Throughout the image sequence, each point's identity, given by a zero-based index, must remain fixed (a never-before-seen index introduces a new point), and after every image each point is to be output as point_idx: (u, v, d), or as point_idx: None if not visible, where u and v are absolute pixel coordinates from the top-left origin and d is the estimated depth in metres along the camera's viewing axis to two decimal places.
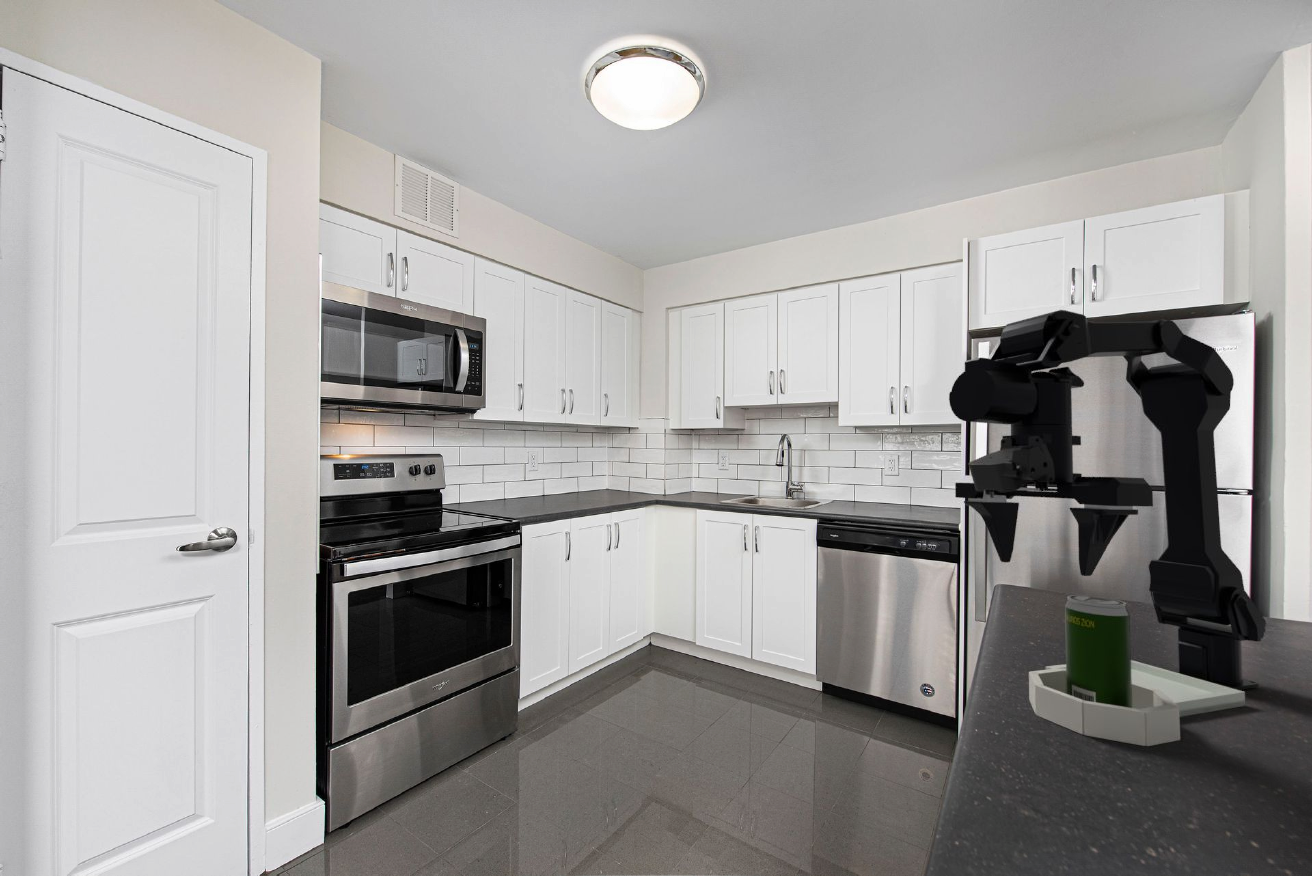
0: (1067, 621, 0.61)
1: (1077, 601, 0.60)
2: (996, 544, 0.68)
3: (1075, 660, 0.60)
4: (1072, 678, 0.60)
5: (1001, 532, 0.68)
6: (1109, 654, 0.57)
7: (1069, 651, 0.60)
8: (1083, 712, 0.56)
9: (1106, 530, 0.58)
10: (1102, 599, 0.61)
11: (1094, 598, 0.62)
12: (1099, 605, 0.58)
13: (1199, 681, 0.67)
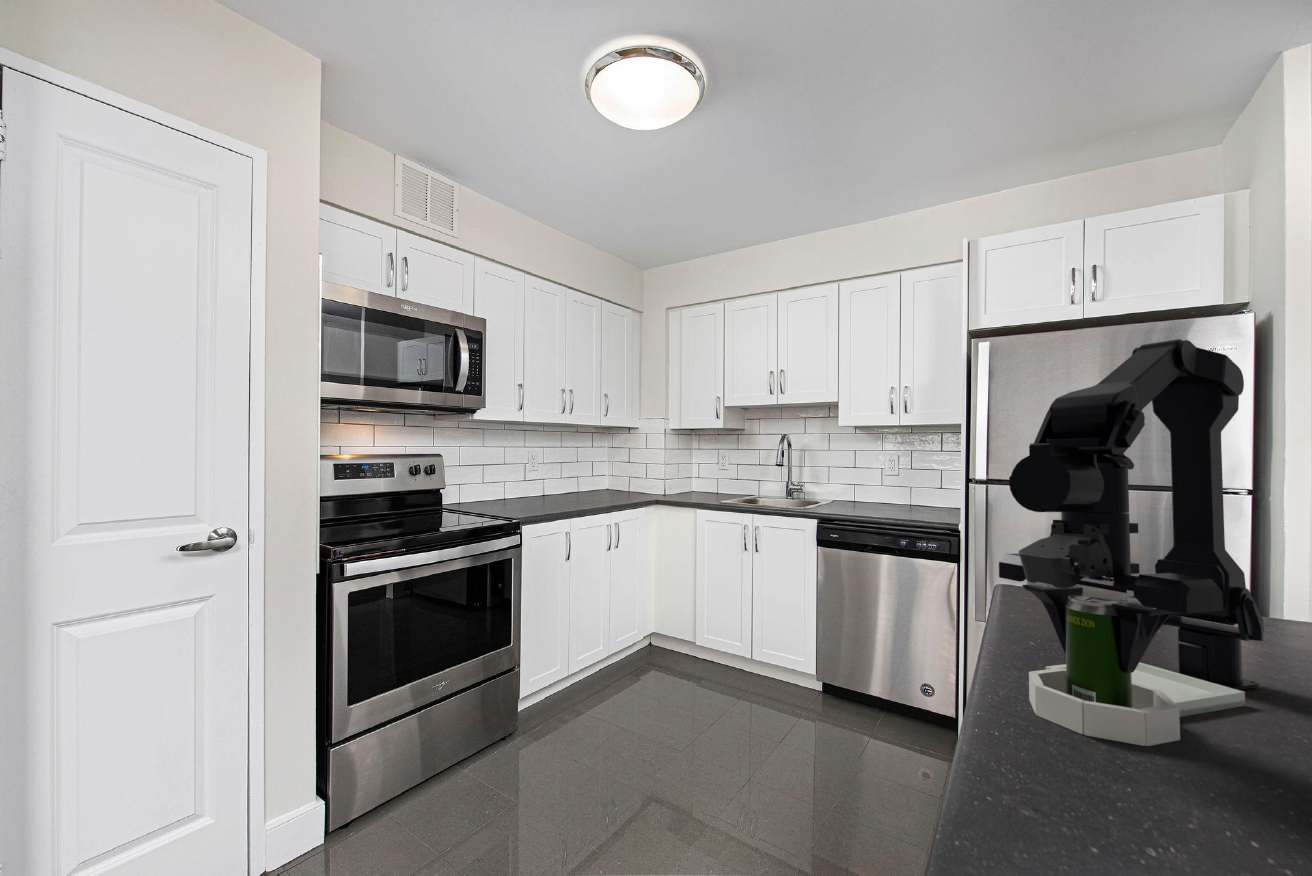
0: (1067, 621, 0.61)
1: (1077, 601, 0.60)
2: (1060, 635, 0.63)
3: (1075, 660, 0.60)
4: (1072, 678, 0.60)
5: None
6: (1109, 654, 0.57)
7: (1069, 651, 0.60)
8: (1083, 712, 0.56)
9: (1149, 626, 0.57)
10: (1102, 599, 0.61)
11: (1094, 598, 0.62)
12: (1100, 605, 0.58)
13: (1199, 681, 0.67)
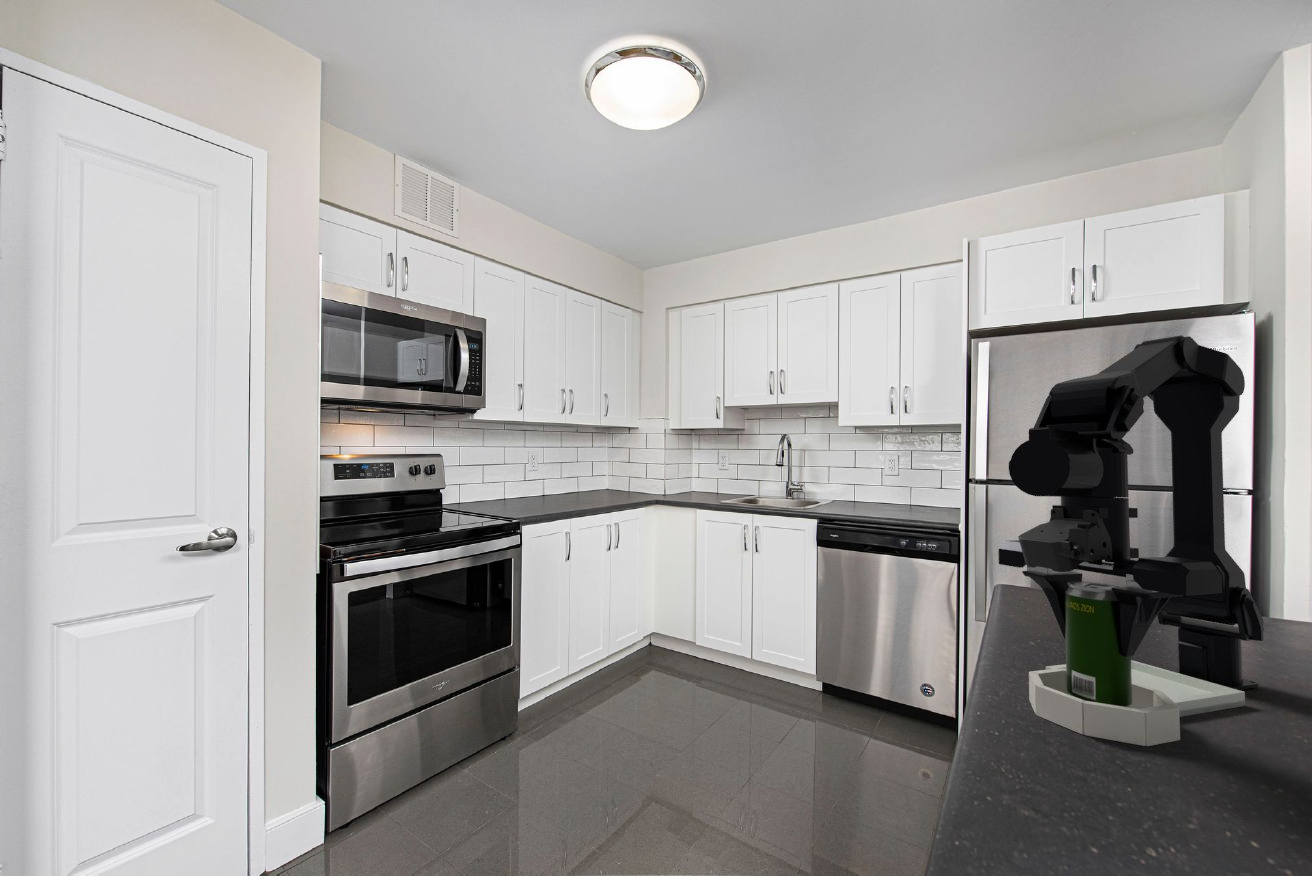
0: (1067, 607, 0.61)
1: (1077, 587, 0.60)
2: (1059, 620, 0.63)
3: (1075, 646, 0.60)
4: (1072, 664, 0.60)
5: None
6: (1109, 639, 0.58)
7: (1069, 637, 0.60)
8: (1083, 712, 0.56)
9: (1149, 610, 0.57)
10: (1102, 585, 0.61)
11: (1094, 584, 0.62)
12: (1099, 590, 0.58)
13: (1199, 681, 0.67)
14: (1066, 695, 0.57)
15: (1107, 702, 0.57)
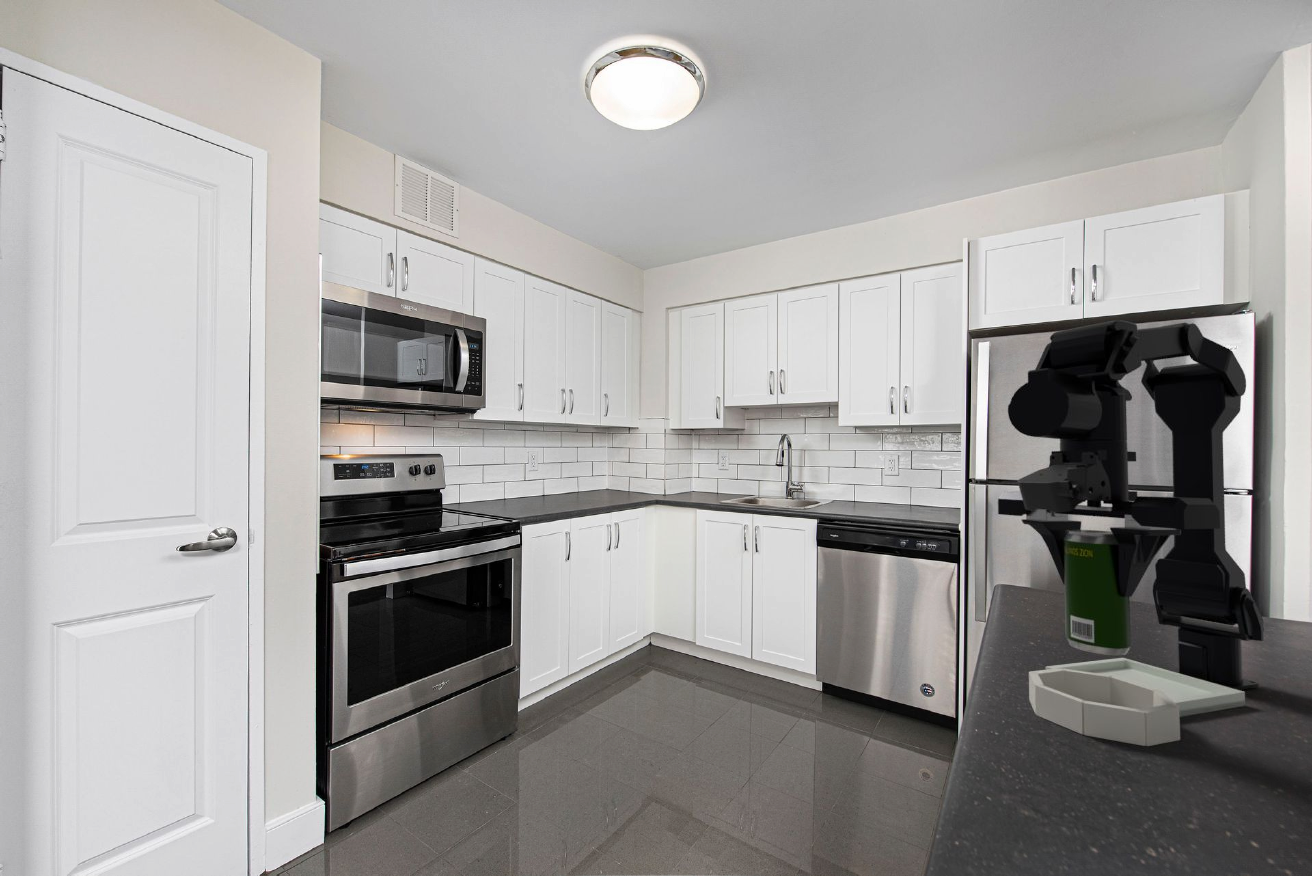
0: (1066, 553, 0.61)
1: (1075, 532, 0.60)
2: (1058, 566, 0.63)
3: (1074, 591, 0.60)
4: (1070, 609, 0.60)
5: None
6: (1107, 583, 0.58)
7: (1068, 582, 0.61)
8: (1083, 712, 0.56)
9: (1147, 550, 0.57)
10: (1100, 532, 0.62)
11: (1093, 531, 0.62)
12: (1098, 534, 0.59)
13: (1199, 681, 0.67)
14: (1066, 695, 0.57)
15: (1105, 644, 0.58)
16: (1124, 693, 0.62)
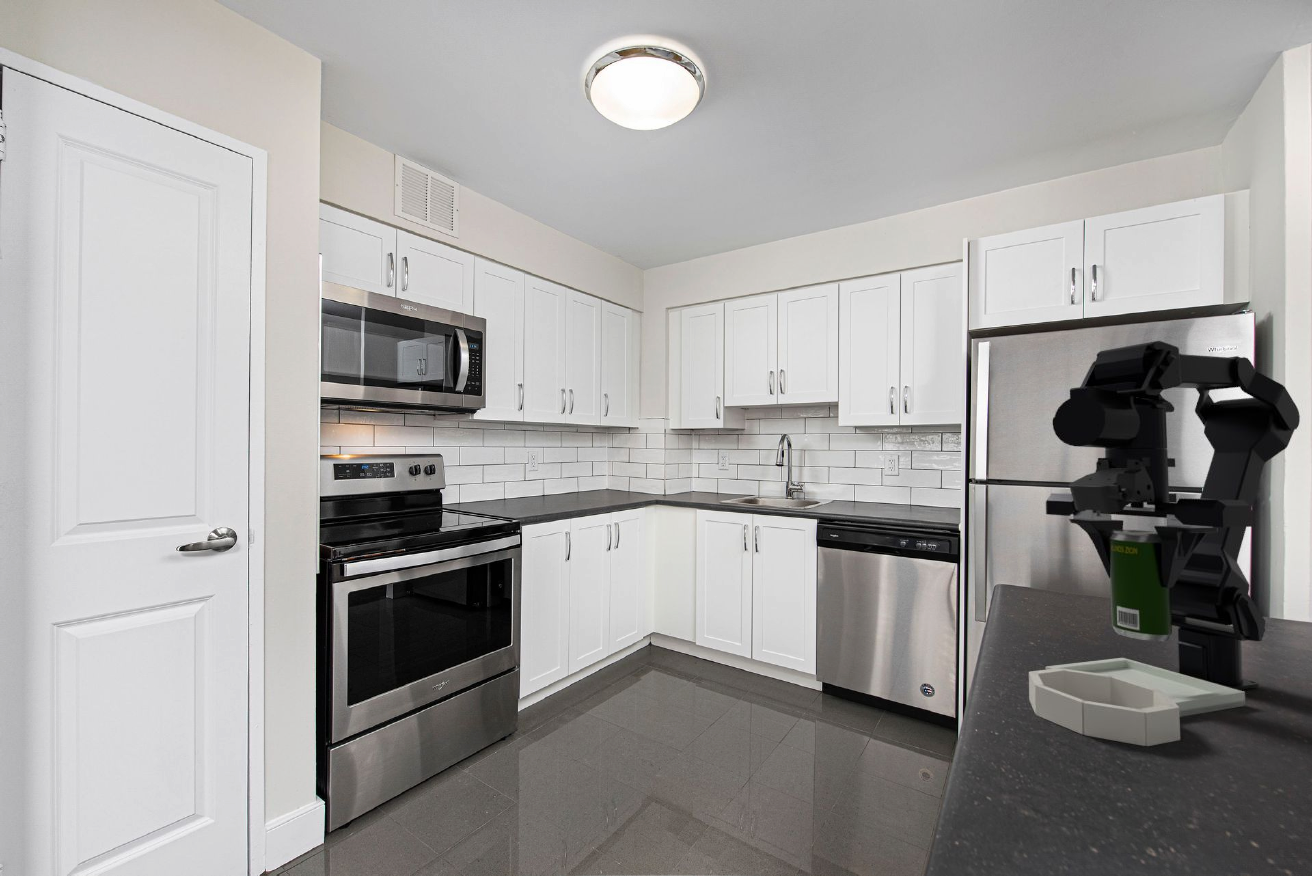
0: (1112, 551, 0.69)
1: (1121, 532, 0.68)
2: (1104, 561, 0.71)
3: (1120, 584, 0.67)
4: (1117, 600, 0.68)
5: (1109, 549, 0.71)
6: (1151, 576, 0.65)
7: (1114, 577, 0.68)
8: (1083, 712, 0.56)
9: (1187, 546, 0.64)
10: (1143, 531, 0.69)
11: (1135, 531, 0.69)
12: (1142, 534, 0.66)
13: (1199, 681, 0.67)
14: (1066, 695, 0.57)
15: (1150, 631, 0.65)
16: (1124, 693, 0.62)
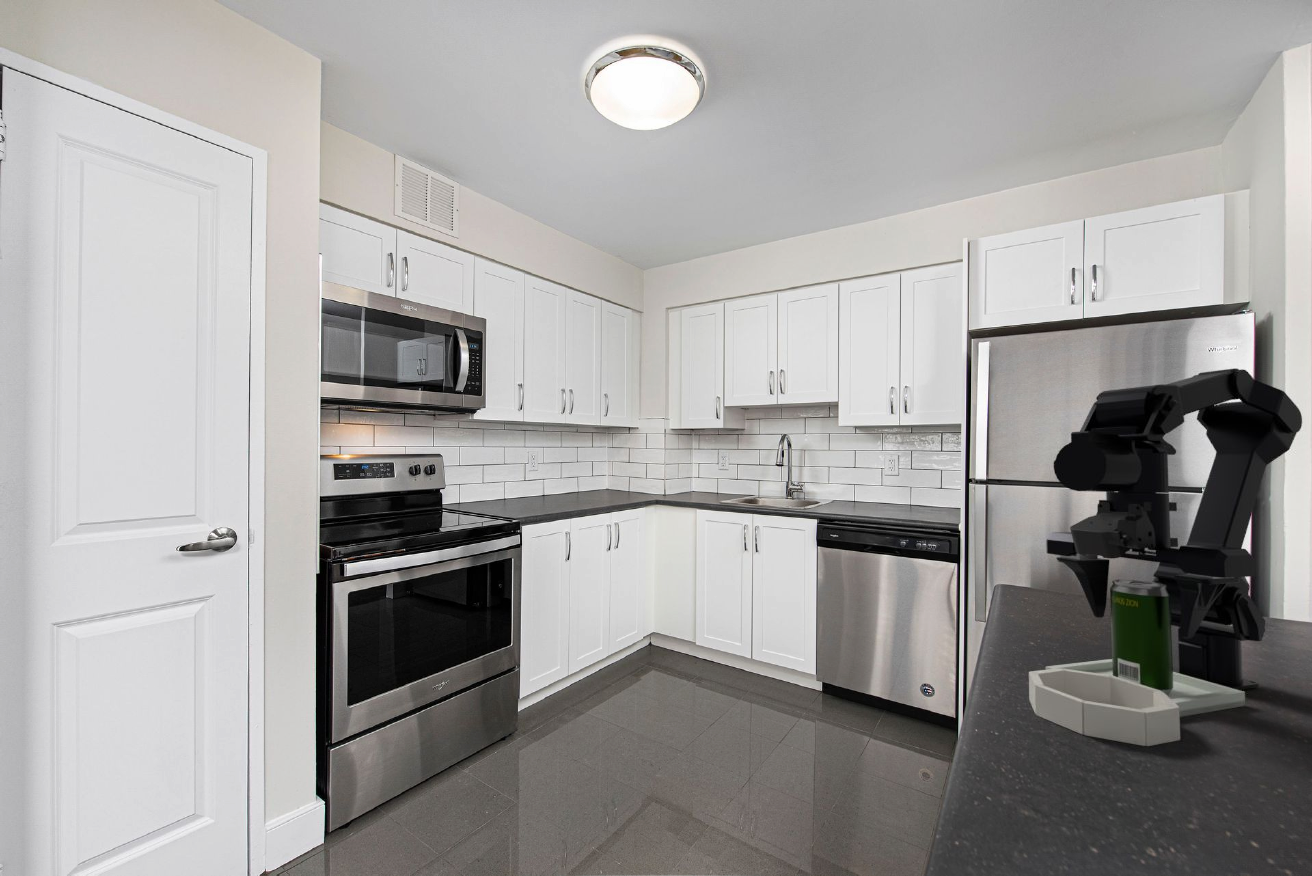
0: (1112, 602, 0.68)
1: (1122, 584, 0.67)
2: (1090, 600, 0.72)
3: (1120, 636, 0.67)
4: (1118, 652, 0.67)
5: (1095, 589, 0.72)
6: (1152, 630, 0.65)
7: (1115, 628, 0.68)
8: (1083, 712, 0.56)
9: (1207, 595, 0.62)
10: (1144, 582, 0.69)
11: (1137, 582, 0.69)
12: (1142, 586, 0.66)
13: (1199, 681, 0.67)
14: (1066, 695, 0.57)
15: (1151, 686, 0.65)
16: (1124, 693, 0.62)
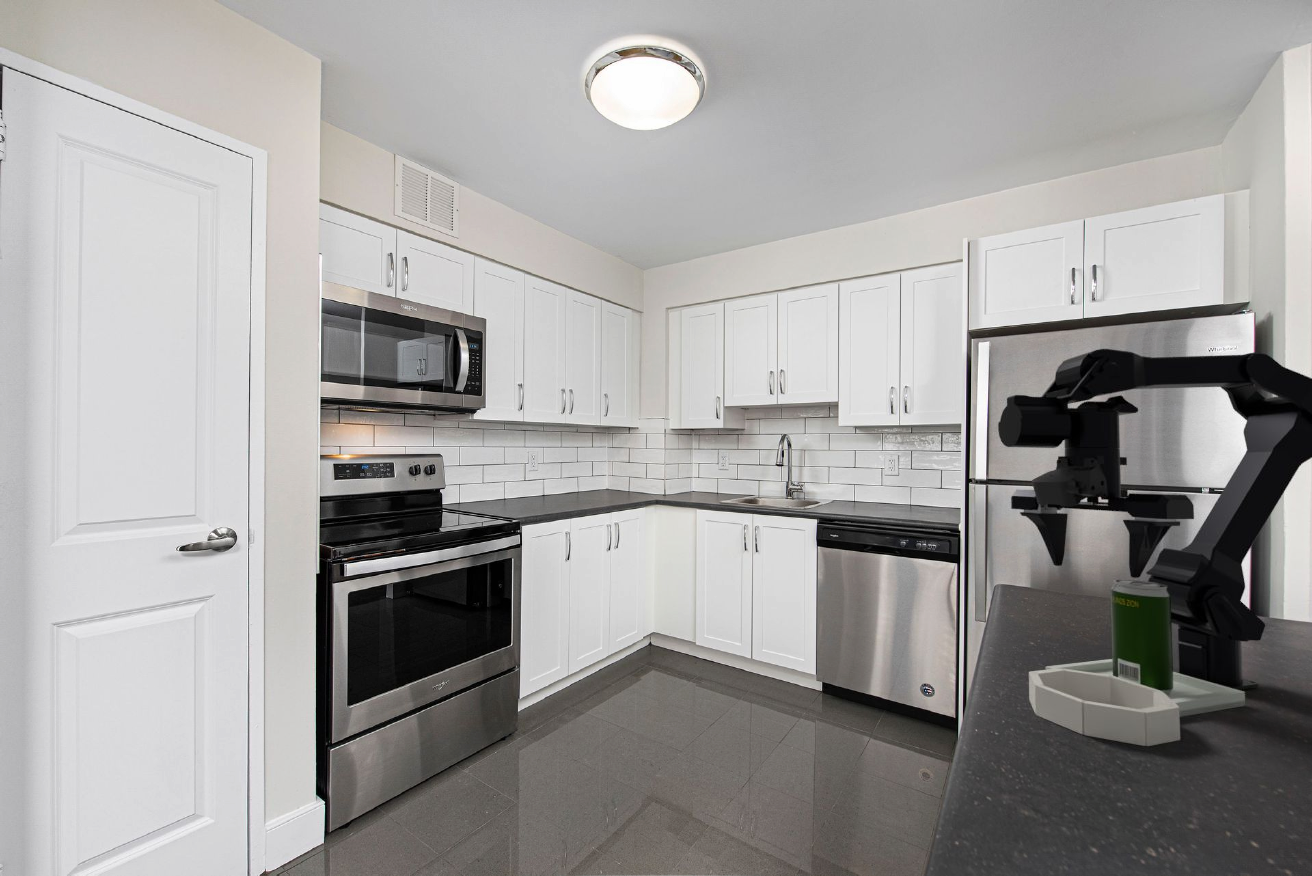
0: (1113, 602, 0.68)
1: (1122, 584, 0.67)
2: (1050, 550, 0.78)
3: (1121, 636, 0.67)
4: (1118, 653, 0.67)
5: (1054, 539, 0.78)
6: (1152, 631, 0.65)
7: (1115, 629, 0.68)
8: (1083, 712, 0.56)
9: (1152, 539, 0.69)
10: (1145, 583, 0.69)
11: (1137, 582, 0.69)
12: (1143, 587, 0.66)
13: (1199, 681, 0.67)
14: (1066, 695, 0.57)
15: (1151, 686, 0.65)
16: (1124, 693, 0.62)
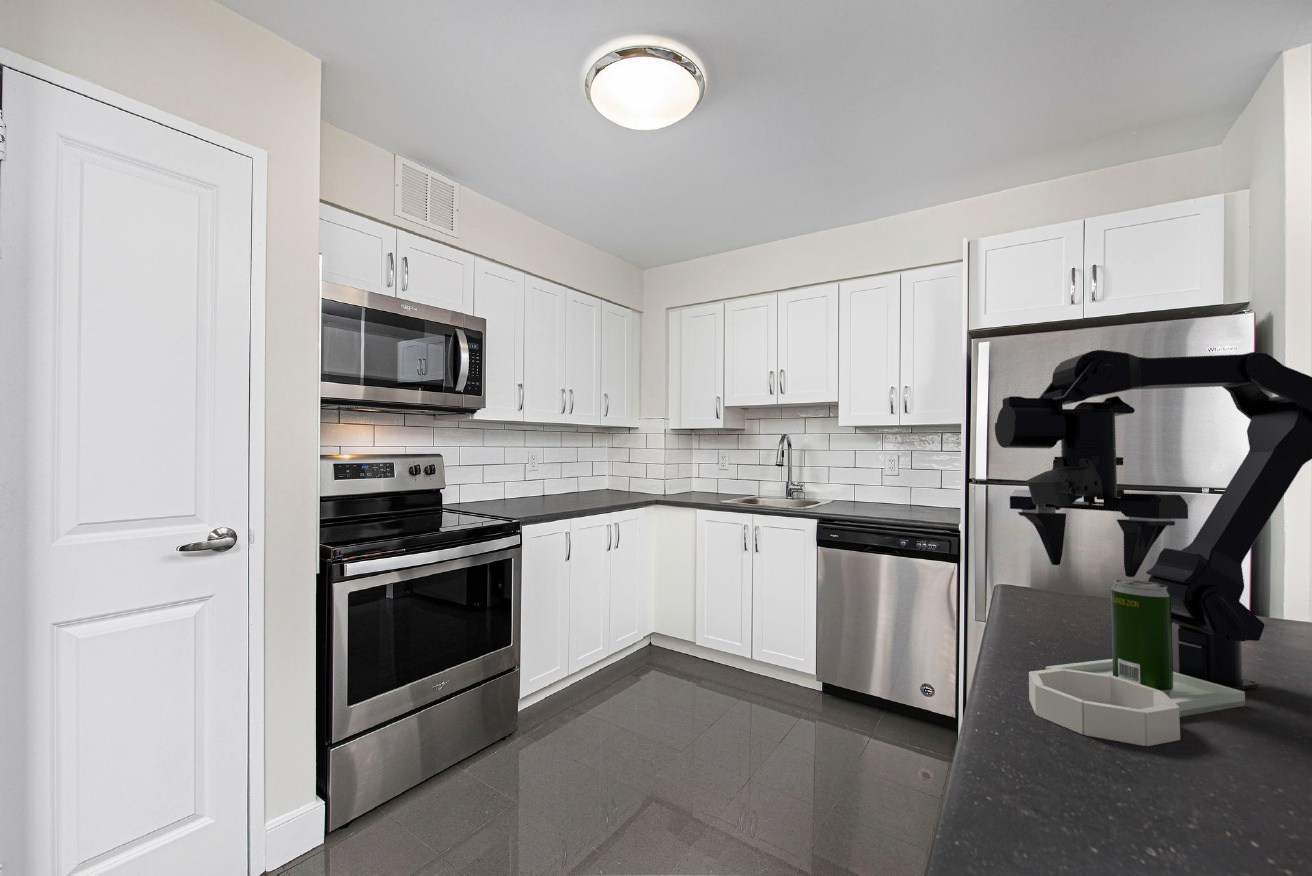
0: (1113, 602, 0.68)
1: (1122, 584, 0.67)
2: (1047, 549, 0.79)
3: (1121, 636, 0.67)
4: (1118, 653, 0.67)
5: (1052, 539, 0.79)
6: (1152, 631, 0.65)
7: (1115, 628, 0.68)
8: (1083, 712, 0.56)
9: (1147, 538, 0.69)
10: (1145, 583, 0.69)
11: (1137, 582, 0.69)
12: (1143, 587, 0.66)
13: (1199, 681, 0.67)
14: (1066, 695, 0.57)
15: (1151, 686, 0.65)
16: (1124, 693, 0.62)
